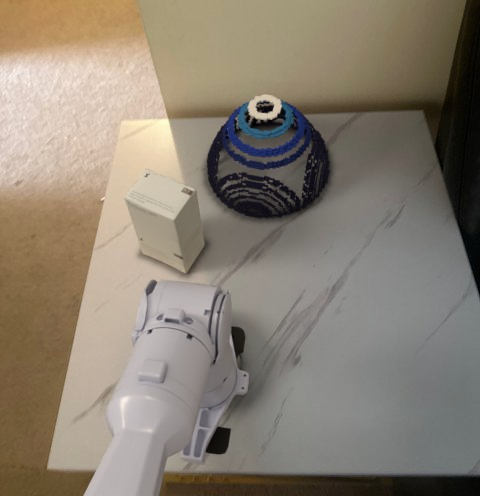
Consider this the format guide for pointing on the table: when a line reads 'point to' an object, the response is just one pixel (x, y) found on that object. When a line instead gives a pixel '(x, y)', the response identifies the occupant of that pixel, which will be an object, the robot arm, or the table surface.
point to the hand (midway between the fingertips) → (217, 403)
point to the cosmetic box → (166, 219)
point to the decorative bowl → (277, 112)
